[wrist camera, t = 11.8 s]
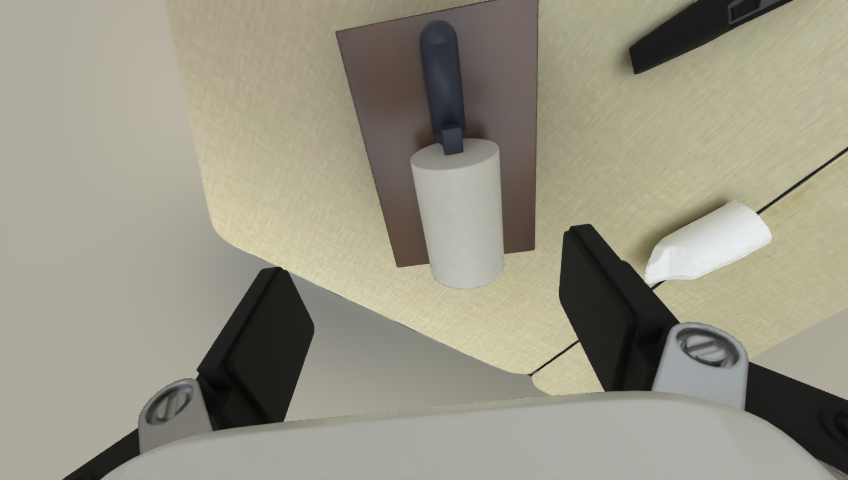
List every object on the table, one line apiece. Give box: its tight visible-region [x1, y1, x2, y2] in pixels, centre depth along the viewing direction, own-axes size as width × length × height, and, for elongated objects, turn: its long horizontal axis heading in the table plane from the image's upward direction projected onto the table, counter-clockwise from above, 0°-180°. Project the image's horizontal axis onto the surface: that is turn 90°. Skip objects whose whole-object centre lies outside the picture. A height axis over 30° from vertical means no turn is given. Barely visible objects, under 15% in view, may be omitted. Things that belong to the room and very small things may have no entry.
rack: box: [336, 0, 539, 267], centre depth 29 cm, size 12×18×11 cm, turn 9°
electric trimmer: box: [629, 0, 792, 74], centre depth 27 cm, size 4×16×3 cm, turn 119°
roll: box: [644, 201, 772, 284], centre depth 38 cm, size 6×12×6 cm, turn 129°
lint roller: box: [410, 20, 504, 289], centre depth 22 cm, size 16×6×6 cm, turn 10°
